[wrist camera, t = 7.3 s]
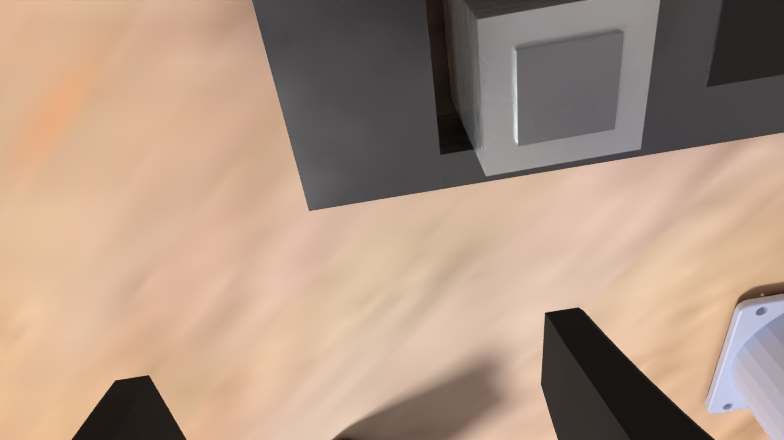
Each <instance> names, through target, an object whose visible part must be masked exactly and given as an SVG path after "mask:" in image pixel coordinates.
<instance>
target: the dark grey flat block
mask: <svg viewBox="0 0 784 440" xmlns="http://www.w3.org/2000/svg"><path fill="white" fill-rule="evenodd" d="M252 1H253V5H254V9H255V12H256V16H257V20H258V24H259V27H260V31H261V35H262V38H263V42H264V46H265V49H266V53H267V57H268V61H269V64H270V68H271V72H272V75H273V79H274V83H275V86H276V90H277V94H278V98H279V101H280V105H281V109H282V112H283V116H284V120H285V123H286V127H287V131H288V134H289V138H290V142H291V146H292V149H293V153H294V157H295V160H296V164H297V168H298V171H299V175H300V179H301V183H302V186H303V190H304V194H305V197H306V201H307V205H308V208H309V211H312V210H318V209H324V208H330V207H336V206H342V205H348V204H354V203H360V202H366V201H372V200H378V199H384V198H390V197H396V196H403V195H409V194H415V193H421V192H427V191H433V190H439V189H445V188H451V187H457V186H463V185H469V184H475V183H481V182H487V181H493V180H499V179H505V178H511V177H517V176H523V175H529V174H535V173H541V172H547V171H553V170H559V169H565V168H572V167H578V166H584V165H590V164H596V163H602V162H608V161H614V160H620V159H626V158H632V157H638V156H644V155H650V154H656V153H662V152H668V151H674V150H680V149H686V148H692V147H698V146H704V145H710V144H716V143H722V142H728V141H735V140H741V139H747V138H753V137H759V136H765V135H771V134H777V133H783V132H784V0H660V4H659V12H658V20H657V27H656V35H655V43H654V50H653V58H652V66H651V73H650V81H649V89H648V96H647V104H646V112H645V119H644V127H643V135H642V143H641V149H639V150H633V151H627V152H622V153H616V154H610V155H605V156H599V157H593V158H588V159H582V160H576V161H571V162H565V163H559V164H554V165H548V166H542V167H536V168H531V169H525V170H519V171H514V172H508V173H502V174H497V175H491V176H486V175H485V173H484V171H483V168H482V166H481V164H480V162H479V159H478V157H477V155H476V152H475V150H474V148H473V146H472V143H471V141H470V139H469V137H468V134H467V132H466V130H465V128H464V125H463V123H462V121H461V118H460V116H459V114H458V113H456V114H450V115H444V116H438V117H437V115H436V104H435V94H434V83H433V73H432V62H431V52H430V41H429V31H428V20H427V10H426V0H252Z"/></svg>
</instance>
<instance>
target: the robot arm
mask: <svg viewBox="0 0 784 440" xmlns="http://www.w3.org/2000/svg"><path fill="white" fill-rule="evenodd" d="M541 386H542V389H543V393H544V396H545V399H546V403H547V406H548V409H549V413H550V416H551V419H552V422H553V426H554V429H555V432H556V435H557V438H558V440H715V439H713V438H712V437H711V436H710V435H709V434H708V433H706V432H705V431H704V430H703V429H702V428H701V427H700V426H699V425H697V424H696V423H695V422H694V421H693V420H692V419H691V418H690V417H689V416H687V415H686V414H685V413H684V412H683V411H682V410H681V409H680V408H679V407H678V406H677V405H676V404H675V403H674V402H672V401H671V400H670V399H669V398H668V397H667V396H666V395H665V394H664V393H663V392H662V391H661V390H660V389H659V388H658V387H657V386H656V385H655V384H653V383H652V382H651V381H650V380H649V379H648V378H647V377H646V376H645V375H644V374H643V373H642V372H641V371H640V370H639V369H638V368H637V367H636V366H635V365H634V364H633V363H632V362H631V361H630V360H629V359H628V358H627V357H626V356H625V355H624V354H623V353H622V352H621V351H620V349H619V348H618V347H617V346H616V345H615V344H614V343H613V342H612V341H611V340H610V339H609V338H608V337H607V336H606V335H605V334H604V333H603V332H602V330H601V329H600V328H599V327H598V326H597V325H596V324H595V323H594V322H593V321H592V320H591V318H590V317H589V316H588V315H587V314H586V313H585V312H584V311H583V310H581V309H580V308H579V307H578V308H572V309H566V310H559V311H553V312H546V313H545V324H544V342H543V359H542V377H541ZM705 407H706V408H707V410H708V411H709V412H710V413H713V414H714V413H722V412H728V411H734V410H740V409H746V408H749V410H750V411H751V413H752V414H753V415H754V417H755V418H756V420H757V421H758V422H759V424H760V425H761V427H762V428H763V429H764V431H765V432H766V434H767V435H768V437H769V438H770V439H771V440H784V294H778V295H772V296H766V297H760V298H754V299H748V300H744V301H742V302H741V303H739V304H738V305H737V306H736V308H735V311H734V314H733V317H732V320H731V323H730V326H729V330H728V333H727V336H726V339H725V342H724V346H723V349H722V352H721V355H720V358H719V361H718V365H717V368H716V371H715V374H714V377H713V380H712V384H711V387H710V390H709V393H708V396H707V399H706V403H705ZM72 440H186V438H185V436H184V435H183V433H182V431H181V430H180V428H179V426H178V424H177V423H176V421H175V419H174V418H173V416H172V414H171V412H170V411H169V409H168V407H167V406H166V404H165V402H164V400H163V399H162V397H161V395H160V393H159V392H158V390H157V388H156V387H155V385H154V383H153V381H152V380H151V378H150V376H149V375H147V376H141V377H135V378H128V379H122V380H116V381H115V382H114V383H113V384H112V386H111V387H110V388H109V390H108V391H107V392H106V394H105V395H104V396H103V398H102V399H101V400H100V402H99V403H98V404H97V406H96V407H95V408H94V410H93V411H92V412H91V414H90V415H89V417H88V418H87V419H86V421H85V422H84V423H83V425H82V426H81V427H80V429H79V430H78V432H77V433H76V434H75V436H74V437H73V438H72Z"/></svg>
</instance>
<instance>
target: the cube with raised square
mask: <svg viewBox="0 0 784 440" xmlns="http://www.w3.org/2000/svg"><path fill="white" fill-rule="evenodd" d="M659 4H660V0H443V12H444V23H445V34H446V45H447V56H448V67H449V78H450V89H451V98H452V100H453V103H454V105H455V107H456V109H457V112H458V114H459V116H460V118H461V121H462V123H463V125H464V128H465V130H466V132H467V134H468V137H469V139H470V141H471V143H472V146H473V148H474V150H475V152H476V155H477V157H478V159H479V162H480V164H481V166H482V168H483V171H484V173H485V175H486V176H491V175H497V174H502V173H508V172H514V171H519V170H525V169H531V168H536V167H542V166H548V165H554V164H559V163H565V162H571V161H576V160H582V159H588V158H593V157H599V156H605V155H610V154H616V153H622V152H627V151H633V150H639V149H641V143H642V135H643V127H644V119H645V112H646V104H647V96H648V89H649V81H650V73H651V66H652V58H653V50H654V43H655V35H656V27H657V20H658V12H659Z"/></svg>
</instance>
